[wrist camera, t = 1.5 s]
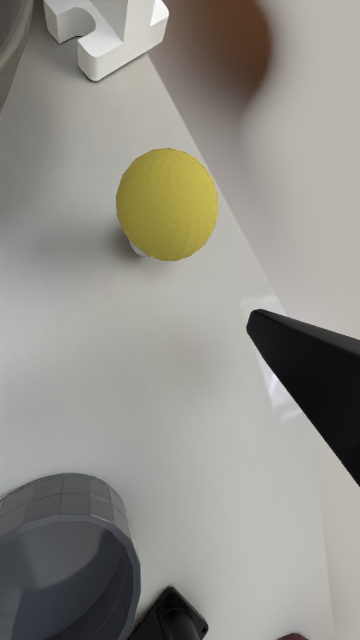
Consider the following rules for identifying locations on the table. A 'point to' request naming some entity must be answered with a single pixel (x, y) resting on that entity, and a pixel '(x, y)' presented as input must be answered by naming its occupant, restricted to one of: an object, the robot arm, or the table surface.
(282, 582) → the table surface
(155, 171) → the light bulb
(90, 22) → the white bracket stand
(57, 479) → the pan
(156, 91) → the table surface
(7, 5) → the bowl
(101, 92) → the table surface
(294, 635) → the vegetable
